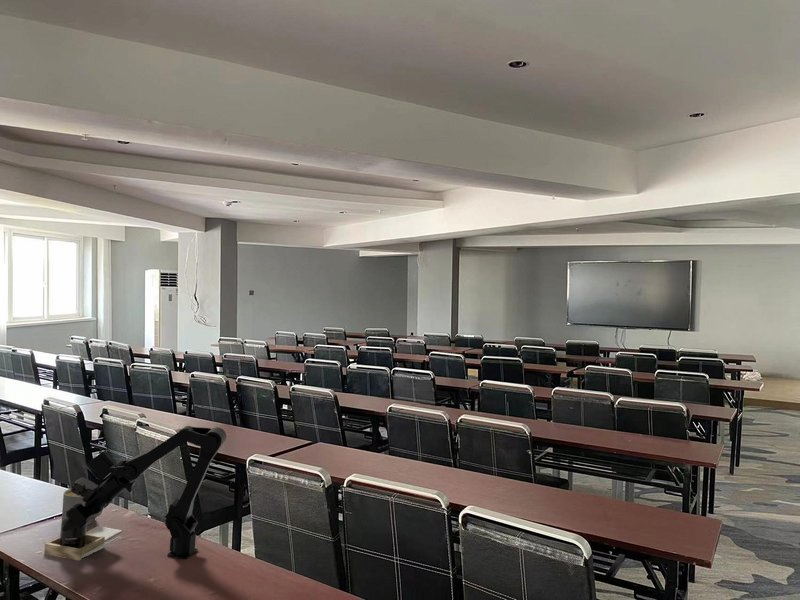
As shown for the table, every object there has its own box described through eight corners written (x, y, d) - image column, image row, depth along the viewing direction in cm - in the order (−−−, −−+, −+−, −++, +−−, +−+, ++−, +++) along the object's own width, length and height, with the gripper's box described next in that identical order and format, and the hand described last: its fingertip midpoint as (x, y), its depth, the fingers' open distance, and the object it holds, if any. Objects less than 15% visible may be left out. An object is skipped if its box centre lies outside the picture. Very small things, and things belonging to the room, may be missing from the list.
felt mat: (121, 531, 187) (122, 530, 187) (101, 542, 178) (101, 541, 178) (98, 527, 189) (98, 526, 189) (77, 538, 180) (77, 536, 180)
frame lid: (121, 550, 174) (122, 535, 174) (100, 562, 165) (101, 546, 165) (100, 546, 175) (101, 531, 175) (79, 558, 167) (80, 542, 167)
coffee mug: (54, 522, 190) (56, 492, 190) (82, 513, 199) (84, 484, 199) (82, 531, 185) (84, 500, 185) (109, 521, 194) (111, 492, 194)
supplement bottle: (65, 556, 168) (67, 515, 168) (55, 549, 172) (57, 509, 172) (89, 549, 173) (92, 509, 173) (79, 542, 177) (81, 503, 177)
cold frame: (104, 546, 176) (104, 536, 176) (79, 560, 166) (79, 550, 166) (70, 540, 178) (71, 530, 178) (44, 553, 169) (44, 543, 169)
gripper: (104, 461, 182) (66, 494, 181) (75, 480, 163) (32, 517, 163) (128, 487, 183) (90, 520, 182) (102, 508, 164) (60, 546, 163)
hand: (69, 525), depth 172 cm, fingers closed on supplement bottle, 7 cm apart
